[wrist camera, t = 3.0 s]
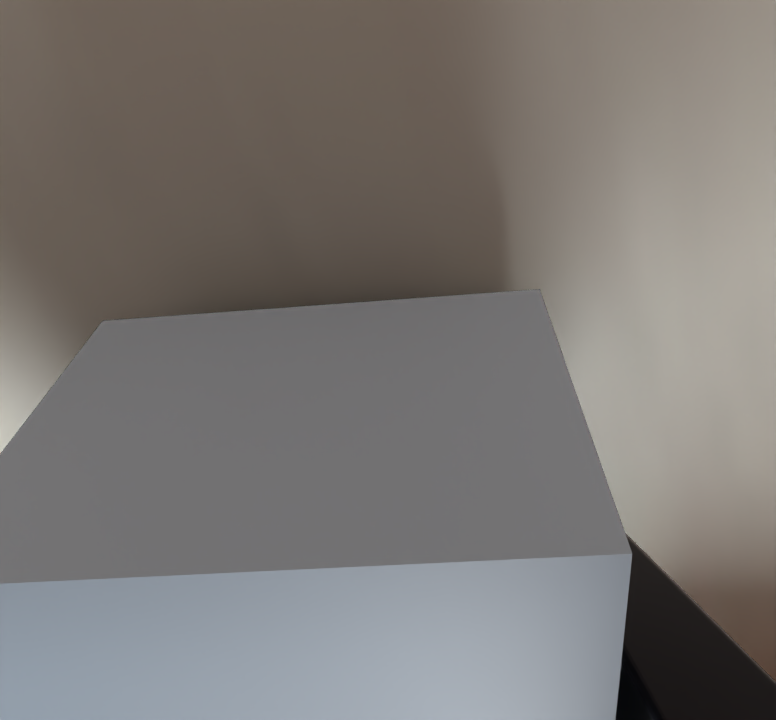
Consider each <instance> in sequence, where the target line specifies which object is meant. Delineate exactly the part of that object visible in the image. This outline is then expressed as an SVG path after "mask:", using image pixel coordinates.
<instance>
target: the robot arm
mask: <svg viewBox="0 0 776 720" xmlns="http://www.w3.org/2000/svg"><path fill="white" fill-rule="evenodd" d="M625 534H626V533H625ZM626 537H627V540H628V543H629V546H630V548H631V551H632V562H631V572H630V582H629V592H628V601H627V611H626V621H625V631H624V641H623V651H622V660H621V670H620V680H619V690H618V700H617V710H616V719H615V720H776V682H775V681H774V680H773V679H772V678H771V677H770V676H769V675H768V674H767V673H766V672H765V671H764V670H763V669H762V668H761V667H760V666H759V665H758V664H757V663H756V662H755V661H754V660H753V659H752V658H751V657H750V656H749V655H748V654H747V653H746V652H745V651H744V650H743V649H742V648H741V647H740V646H739V645H738V644H737V643H736V642H735V641H734V640H733V639H732V638H731V637H730V636H729V635H728V634H727V633H726V632H725V631H724V630H723V629H722V628H721V627H720V626H719V625H718V624H717V623H716V622H715V621H714V620H713V619H712V618H711V617H710V616H709V615H708V614H707V613H706V612H705V611H704V610H703V609H702V608H701V607H700V606H699V605H698V604H697V603H696V602H695V601H694V600H693V599H692V598H691V597H690V596H688V595H687V594H686V593H685V592H684V591H683V590H682V589H681V588H680V587H679V586H678V585H677V584H676V583H675V582H674V581H673V580H672V579H671V578H670V577H669V576H668V575H667V574H666V573H665V572H664V571H663V570H662V569H661V568H660V567H659V566H658V565H657V564H656V563H655V562H654V561H653V560H652V559H651V558H650V557H649V556H648V555H647V554H646V553H645V552H644V551H643V550H642V549H641V548H640V547H639V546H638V545H637V544H636V543H635V542H634V541H633V540H632V539H631V538H630V537H629V536H628V535H627V534H626Z"/></svg>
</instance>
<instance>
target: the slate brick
mask: <svg viewBox="0 0 776 720" xmlns="http://www.w3.org/2000/svg"><path fill="white" fill-rule="evenodd" d="M631 562H632V551H631V548H630V546H629V543H628V540H627V537H626V534H625V531H624V529H623V526H622V523H621V520H620V517H619V514H618V511H617V509H616V506H615V503H614V500H613V497H612V494H611V491H610V489H609V486H608V483H607V480H606V477H605V474H604V471H603V469H602V466H601V463H600V460H599V457H598V454H597V452H596V449H595V446H594V443H593V440H592V437H591V434H590V432H589V429H588V426H587V423H586V420H585V417H584V414H583V412H582V409H581V406H580V403H579V400H578V397H577V394H576V392H575V389H574V386H573V383H572V380H571V377H570V375H569V372H568V369H567V366H566V363H565V360H564V357H563V355H562V352H561V349H560V346H559V343H558V340H557V337H556V335H555V332H554V329H553V326H552V323H551V320H550V317H549V315H548V312H547V309H546V306H545V303H544V300H543V298H542V295H541V292H540V289H535V290H522V291H508V292H494V293H480V294H466V295H452V296H438V297H425V298H411V299H397V300H383V301H369V302H355V303H341V304H328V305H314V306H300V307H286V308H272V309H258V310H244V311H231V312H217V313H203V314H189V315H175V316H161V317H147V318H134V319H120V320H106V321H102V322H101V324H100V325H99V326H98V327H97V329H96V330H95V331H94V333H93V334H92V335H91V337H90V338H89V339H88V340H87V342H86V343H85V344H84V346H83V347H82V348H81V350H80V351H79V352H78V353H77V355H76V356H75V357H74V359H73V360H72V361H71V363H70V364H69V365H68V366H67V368H66V369H65V370H64V372H63V373H62V374H61V376H60V377H59V378H58V380H57V381H56V382H55V383H54V385H53V386H52V387H51V389H50V390H49V391H48V393H47V394H46V395H45V396H44V398H43V399H42V400H41V402H40V403H39V404H38V406H37V407H36V408H35V409H34V411H33V412H32V413H31V415H30V416H29V417H28V419H27V420H26V421H25V422H24V424H23V425H22V426H21V428H20V429H19V430H18V432H17V433H16V434H15V435H14V437H13V438H12V439H11V441H10V442H9V443H8V445H7V446H6V447H5V449H4V450H3V451H2V452H1V454H0V720H615V719H616V710H617V700H618V690H619V680H620V670H621V660H622V651H623V641H624V631H625V621H626V611H627V601H628V592H629V582H630V572H631Z"/></svg>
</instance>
